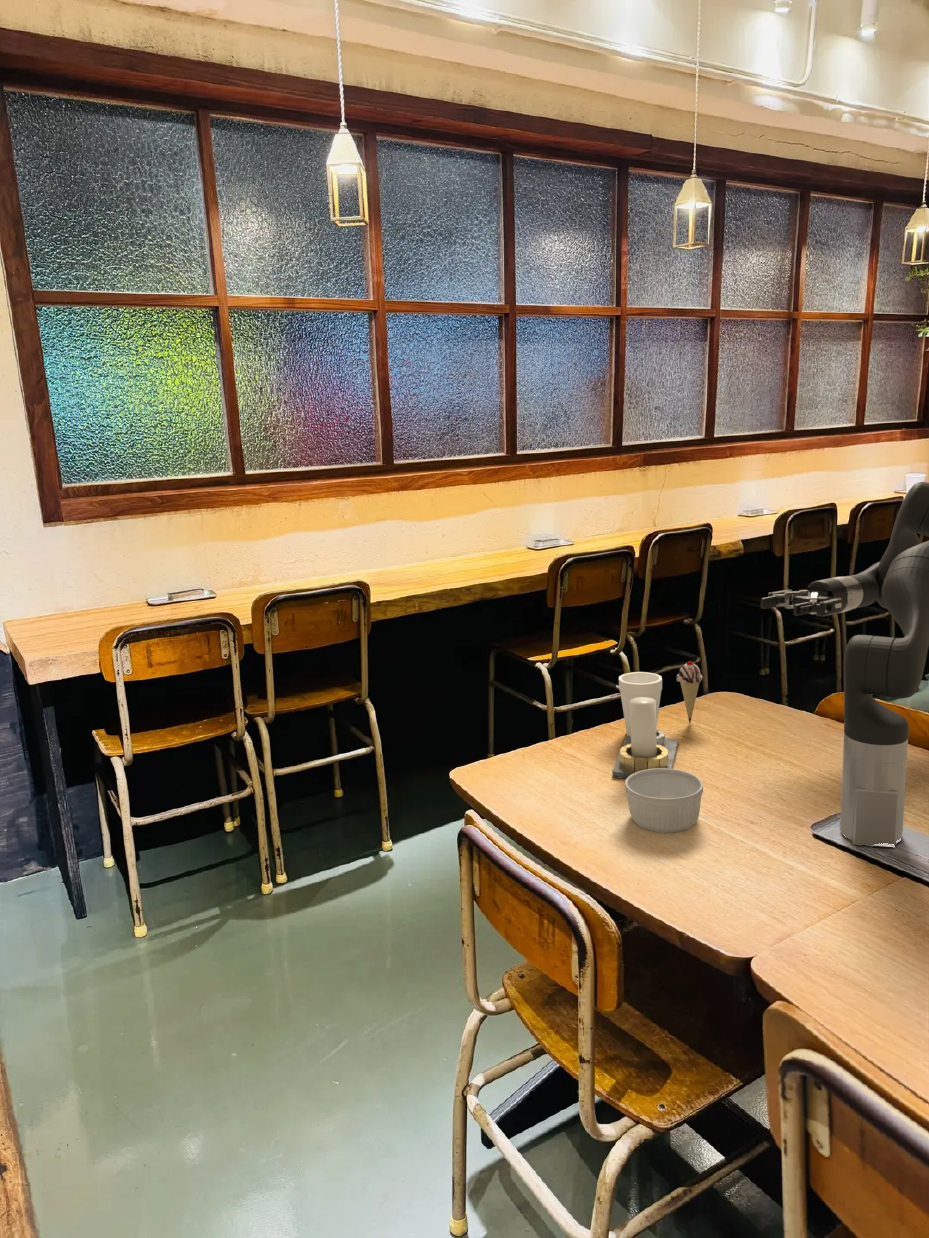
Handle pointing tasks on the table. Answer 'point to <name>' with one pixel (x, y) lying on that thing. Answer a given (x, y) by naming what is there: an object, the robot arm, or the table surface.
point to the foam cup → (639, 691)
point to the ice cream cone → (689, 685)
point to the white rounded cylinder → (643, 727)
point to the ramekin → (664, 799)
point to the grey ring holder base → (631, 764)
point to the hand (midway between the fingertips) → (778, 607)
